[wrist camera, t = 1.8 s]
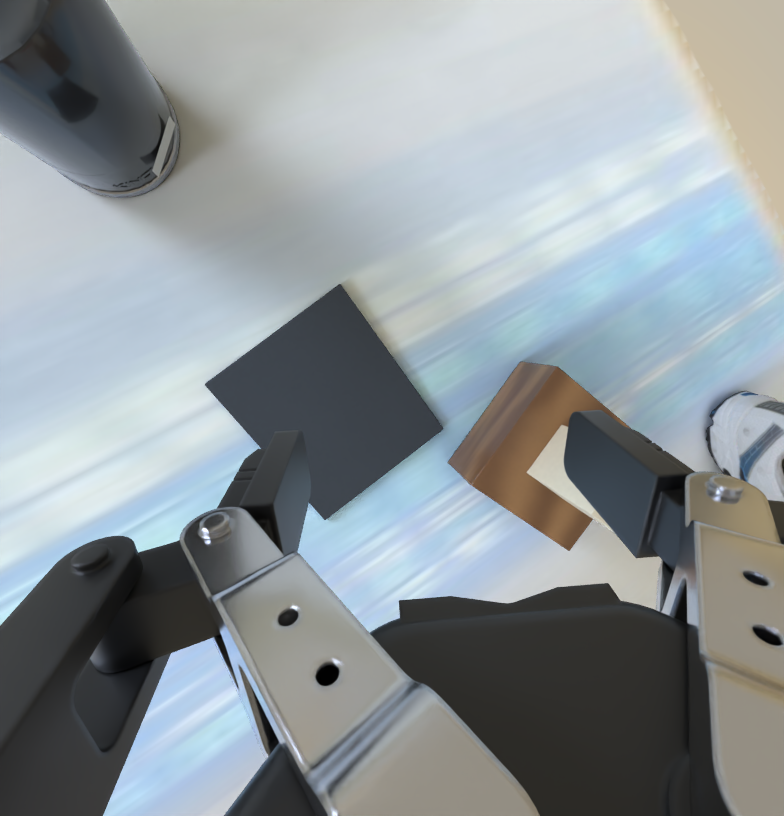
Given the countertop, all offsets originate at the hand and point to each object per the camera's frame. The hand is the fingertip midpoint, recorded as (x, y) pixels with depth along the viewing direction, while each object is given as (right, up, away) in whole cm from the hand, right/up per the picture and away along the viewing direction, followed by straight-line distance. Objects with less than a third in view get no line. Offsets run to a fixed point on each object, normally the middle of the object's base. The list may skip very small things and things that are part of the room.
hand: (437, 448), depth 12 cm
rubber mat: (-7, +1, +23) cm, 24 cm away
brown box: (+12, -2, +27) cm, 30 cm away
